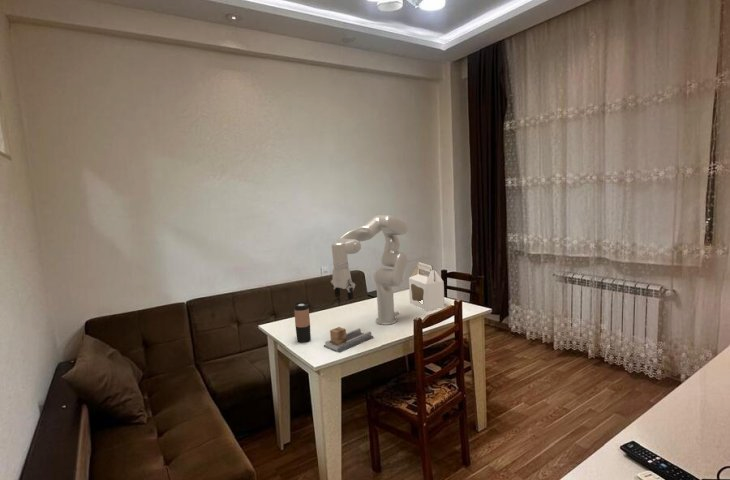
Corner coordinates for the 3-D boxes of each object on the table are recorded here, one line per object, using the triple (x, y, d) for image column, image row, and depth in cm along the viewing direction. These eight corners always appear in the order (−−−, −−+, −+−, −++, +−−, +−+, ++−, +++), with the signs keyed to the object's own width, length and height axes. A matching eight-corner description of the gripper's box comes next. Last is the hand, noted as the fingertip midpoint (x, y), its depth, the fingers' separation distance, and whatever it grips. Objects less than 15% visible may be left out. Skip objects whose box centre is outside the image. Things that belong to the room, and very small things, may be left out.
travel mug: (297, 338, 209) (294, 302, 206) (311, 337, 209) (308, 301, 207) (296, 344, 201) (293, 306, 199) (310, 342, 202) (308, 305, 199)
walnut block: (340, 341, 199) (339, 326, 198) (346, 344, 195) (345, 328, 194) (331, 345, 195) (330, 330, 194) (337, 348, 191) (336, 332, 190)
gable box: (409, 302, 263) (407, 262, 259) (426, 299, 268) (425, 259, 264) (426, 311, 242) (425, 267, 239) (444, 308, 247) (443, 264, 244)
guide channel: (357, 332, 213) (357, 327, 212) (373, 337, 204) (373, 332, 204) (323, 346, 196) (323, 341, 195) (339, 352, 187) (339, 347, 187)
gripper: (324, 265, 202) (327, 297, 205) (347, 269, 190) (350, 302, 193) (334, 262, 208) (338, 293, 210) (358, 265, 196) (361, 298, 199)
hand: (344, 297), depth 202 cm, fingers open, 9 cm apart
